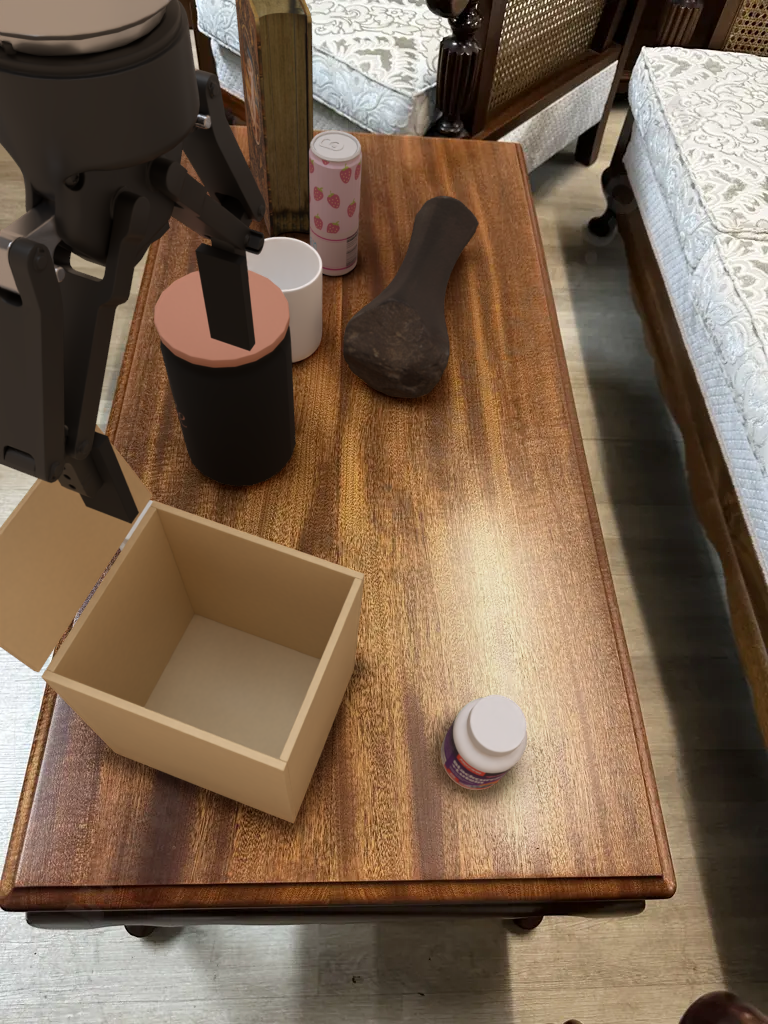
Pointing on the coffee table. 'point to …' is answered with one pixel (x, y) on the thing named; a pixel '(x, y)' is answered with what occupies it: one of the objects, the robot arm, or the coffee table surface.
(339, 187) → the beverage can
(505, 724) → the pill bottle
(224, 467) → the coffee jar
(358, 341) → the dark brown bone
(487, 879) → the coffee table surface
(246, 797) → the carton
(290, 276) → the mug
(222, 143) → the robot arm
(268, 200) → the book
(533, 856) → the coffee table surface
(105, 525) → the flap
